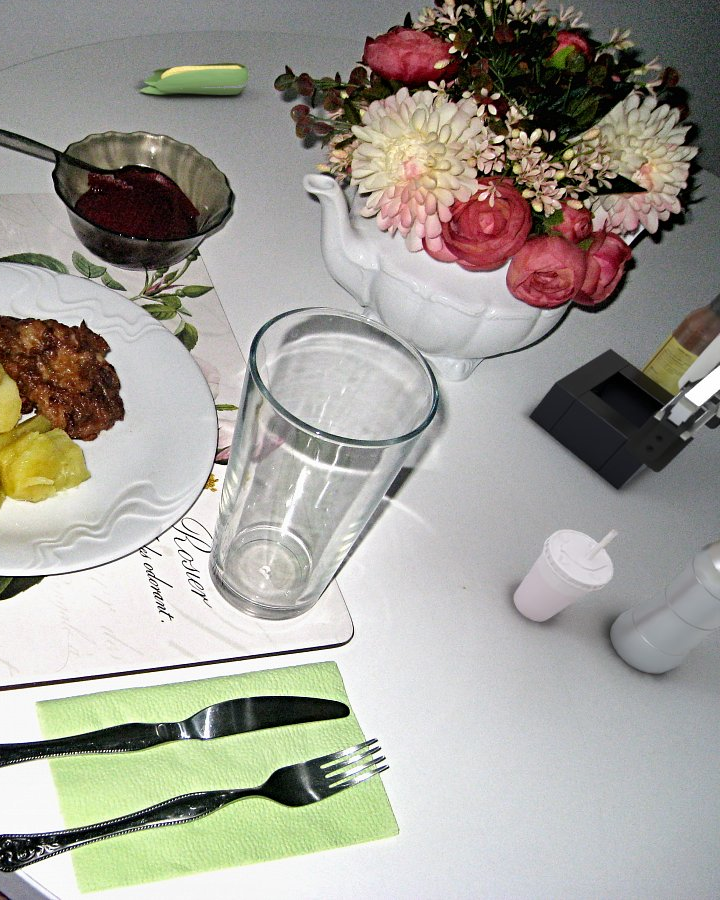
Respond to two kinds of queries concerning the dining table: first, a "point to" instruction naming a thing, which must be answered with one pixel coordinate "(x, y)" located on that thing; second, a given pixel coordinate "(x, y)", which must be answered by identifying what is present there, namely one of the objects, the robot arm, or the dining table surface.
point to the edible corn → (198, 79)
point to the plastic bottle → (672, 617)
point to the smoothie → (564, 574)
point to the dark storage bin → (602, 414)
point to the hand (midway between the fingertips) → (670, 437)
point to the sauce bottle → (684, 346)
